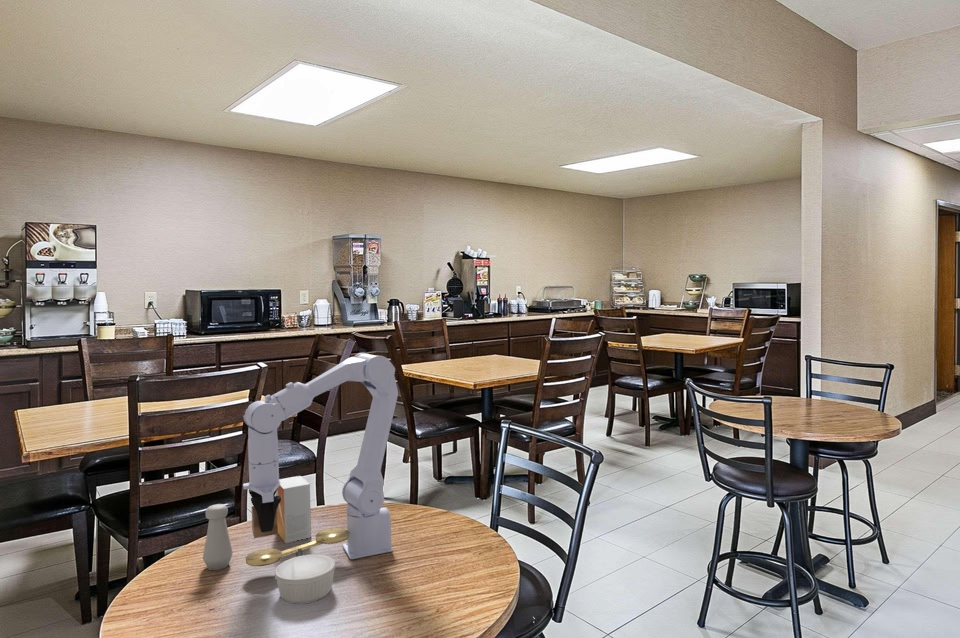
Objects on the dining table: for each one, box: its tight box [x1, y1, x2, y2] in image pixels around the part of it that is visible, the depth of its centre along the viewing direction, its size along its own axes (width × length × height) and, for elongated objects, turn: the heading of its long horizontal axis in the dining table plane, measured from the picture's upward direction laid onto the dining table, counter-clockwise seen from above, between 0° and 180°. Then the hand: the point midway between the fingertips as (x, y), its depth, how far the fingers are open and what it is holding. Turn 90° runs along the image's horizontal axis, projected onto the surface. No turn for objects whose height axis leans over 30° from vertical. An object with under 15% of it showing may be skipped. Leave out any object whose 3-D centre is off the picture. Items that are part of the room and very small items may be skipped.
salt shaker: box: [202, 503, 233, 571], centre depth 130 cm, size 6×6×13 cm
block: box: [251, 505, 279, 539], centre depth 125 cm, size 4×4×5 cm
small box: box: [275, 475, 312, 544], centre depth 146 cm, size 8×6×13 cm
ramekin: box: [274, 554, 336, 605], centre depth 118 cm, size 11×11×5 cm
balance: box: [245, 527, 349, 567], centre depth 128 cm, size 21×7×6 cm, turn 115°
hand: (265, 526), depth 125 cm, fingers closed on block, 4 cm apart
